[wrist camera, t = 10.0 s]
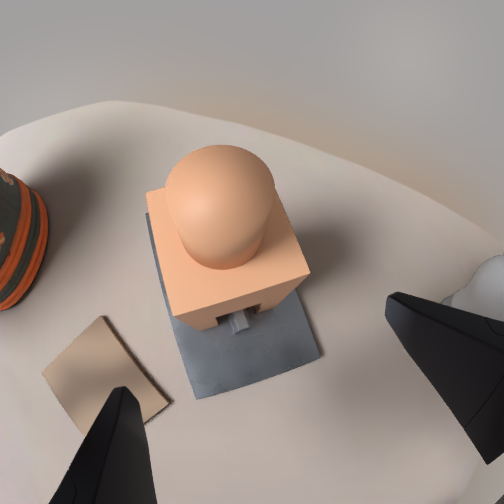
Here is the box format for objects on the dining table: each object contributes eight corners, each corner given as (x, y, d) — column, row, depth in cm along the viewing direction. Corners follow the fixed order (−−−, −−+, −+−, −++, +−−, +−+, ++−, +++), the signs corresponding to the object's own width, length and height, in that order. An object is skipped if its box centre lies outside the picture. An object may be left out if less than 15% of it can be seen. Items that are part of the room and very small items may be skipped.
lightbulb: (446, 270, 24) (521, 230, 13) (470, 317, 22) (547, 293, 12) (413, 304, 22) (499, 271, 12) (439, 354, 21) (527, 344, 10)
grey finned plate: (318, 357, 21) (341, 359, 16) (197, 398, 19) (186, 413, 14) (252, 185, 25) (256, 150, 20) (147, 216, 24) (129, 186, 19)
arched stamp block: (275, 307, 21) (339, 243, 9) (199, 330, 20) (149, 302, 7) (249, 237, 23) (272, 111, 10) (178, 258, 22) (123, 146, 9)
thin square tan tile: (170, 402, 19) (168, 403, 18) (102, 453, 16) (99, 454, 16) (102, 316, 21) (100, 315, 20) (44, 372, 18) (41, 372, 18)
